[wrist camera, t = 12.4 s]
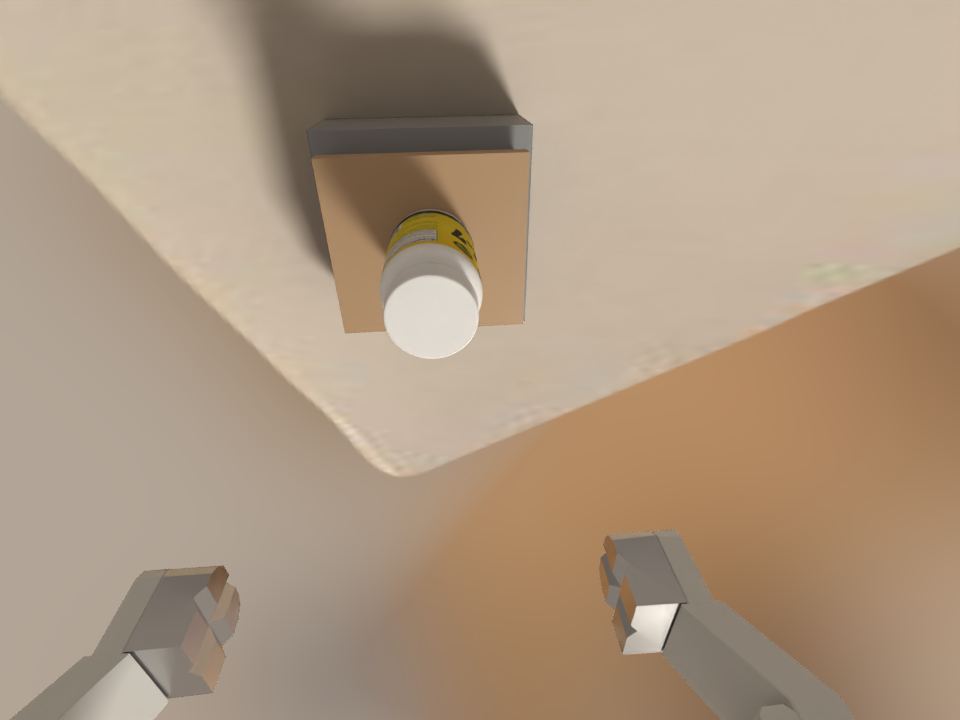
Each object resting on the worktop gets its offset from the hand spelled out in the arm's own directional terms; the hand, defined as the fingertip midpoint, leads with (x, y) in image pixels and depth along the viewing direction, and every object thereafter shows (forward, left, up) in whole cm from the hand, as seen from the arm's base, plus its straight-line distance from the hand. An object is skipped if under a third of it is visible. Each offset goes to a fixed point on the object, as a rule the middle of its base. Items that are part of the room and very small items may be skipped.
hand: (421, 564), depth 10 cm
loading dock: (0, 0, -27) cm, 27 cm away
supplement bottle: (0, 0, -20) cm, 20 cm away
